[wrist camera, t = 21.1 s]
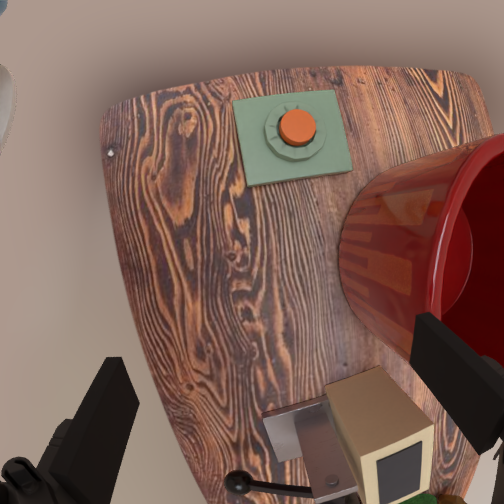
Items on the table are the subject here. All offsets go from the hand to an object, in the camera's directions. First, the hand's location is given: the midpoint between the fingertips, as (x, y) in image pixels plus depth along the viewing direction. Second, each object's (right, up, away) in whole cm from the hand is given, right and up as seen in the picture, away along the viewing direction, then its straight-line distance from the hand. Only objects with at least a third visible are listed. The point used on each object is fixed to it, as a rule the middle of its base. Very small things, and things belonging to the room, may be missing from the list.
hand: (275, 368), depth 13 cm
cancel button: (+4, +18, +19) cm, 26 cm away
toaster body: (+14, -17, +26) cm, 34 cm away
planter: (+20, +5, +24) cm, 32 cm away
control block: (+4, +18, +23) cm, 29 cm away
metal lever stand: (+7, -19, +26) cm, 33 cm away
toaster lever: (+3, -21, +17) cm, 27 cm away
